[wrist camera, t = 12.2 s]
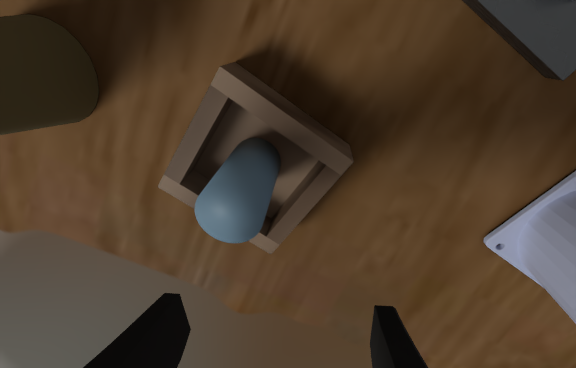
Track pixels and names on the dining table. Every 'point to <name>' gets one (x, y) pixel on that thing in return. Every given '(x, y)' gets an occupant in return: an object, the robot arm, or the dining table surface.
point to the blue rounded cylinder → (239, 192)
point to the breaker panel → (535, 31)
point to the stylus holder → (266, 125)
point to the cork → (42, 75)
